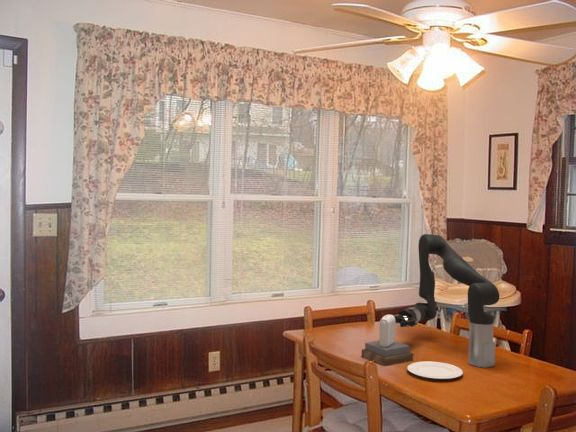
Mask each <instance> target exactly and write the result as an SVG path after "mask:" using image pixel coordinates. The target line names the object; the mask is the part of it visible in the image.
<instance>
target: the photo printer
mask: <svg viewBox="0 0 576 432" xmlns="http://www.w3.org/2000/svg"><path fill="white" fill-rule="evenodd" d="M393 315H394V314H391V315H388V314H386V315H383V316H384V317H383V316H382V318H381V319H380V321H379V336H378V337H379V338H378V339H379V340H378V341H379V344H380V346H382V347H388V346H390V345H391V344H393V343H395V341H396V324H395V317H394V316H393Z"/></svg>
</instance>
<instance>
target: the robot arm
mask: <svg viewBox="0 0 576 432" xmlns="http://www.w3.org/2000/svg"><path fill="white" fill-rule="evenodd" d="M418 239H419V240H418V246H417V247H418V248H417V249H418V259H419V261H418V262H419V263H418V264H419V287H418V288H419V289H418V296H419V297H420V298H421V299H424V300H426V303H425V302H416V303H415V304H414V305H413V306H412V307H407V308H405V309H401V310H400V311H398V313H397V314H391V313H389V314H387V315H393V316H394V317H395V325H396V324H397V325H399V326H400V328H404V327H405V328H408V327H411V328H412V327H414V326H417V325H418V323H419V322H422V321H423V320H424V319H427V320H433V319H435V318H436V316H437V312H438V311H437V310H438V309H437V305H436V299H435V298H436V297H435V290H436V278H435V275H434V273H433V271H432V269H431V266H430V260H429V257H430V255H436V256H439V257H440V258H441V259H442V261H443V262H442V265H443V266H442V267H443V269H444V270H445V271H444V272H446V274H448V275H449V276H450V277H451V278H452V279H453V280H455V281H457V282H458V283H461V284H462V285H466V286H468V289H467V313H468V317H469V323H468V325H469V328H468V330H469V331H468V364H469V365H470V366H474V367H478V368H484V369H485V368H490V367H494V366H495V365H496V359H495V358H496V342H495V341H494V316H493V315H492V314H489V313H487V312H485V311H484V306H485V307H486V306H493V305H495V304H498V302H499V300H500V290H499V289H498V288H497V286H496V285H495V284H494V283H493V282H492V281H490V280H488V279H487V278H486V277H485V276H484V275H482V274H480V273H479V272H478V271H477V270H476V269H475V268H473V266H471V264H469V263H468V262H467V261H466V259H464V258H463V257H462V256H460V255H459V254H458V253H457V252H456V251H455V250H454V249H453V248H452V246H451V245H450V244H449V243H448V242H447V241H446V239H444V237H442V236H441V235H439V234H431V233H430V234H427V233H425V234H422V235H421V236H420V237H419V238H418ZM384 316H385V315H383V316H382V318H383V317H384Z"/></svg>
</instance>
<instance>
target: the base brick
mask: <svg viewBox="0 0 576 432" xmlns="http://www.w3.org/2000/svg"><path fill="white" fill-rule="evenodd" d="M361 357H362V358H364V359H367V360H369V361H371V360H374V361H375V362H374V361H373V362H374V363H377V364H378V365H379V364H380V365H381V366H384V367H388V366H392V365H398V364H402V363H408V362H411V361H414V353H413V352H410V353H407V354H402V355H397V356H392V357H387V358H385V357H383V356H380V355H377V354H375V353H372V352H369V351H367V350H365V348H363V349H361Z"/></svg>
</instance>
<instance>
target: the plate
mask: <svg viewBox="0 0 576 432" xmlns="http://www.w3.org/2000/svg"><path fill="white" fill-rule="evenodd" d="M406 369H407V371H408V372H409V373H410V374H412V375H414V376H417V377H419V378H422V379H427V380H430V381H431V380H432V381H448V380H452V379H457V378H460V377H461V376H463V374H464V371H463V369H461V368H460V367H458V366H455V365H453V364H451V363H447V362H439V361H430V360H429V361H417V362H413V363H412V362H411V363H410V364H409V365H407V367H406Z"/></svg>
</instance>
